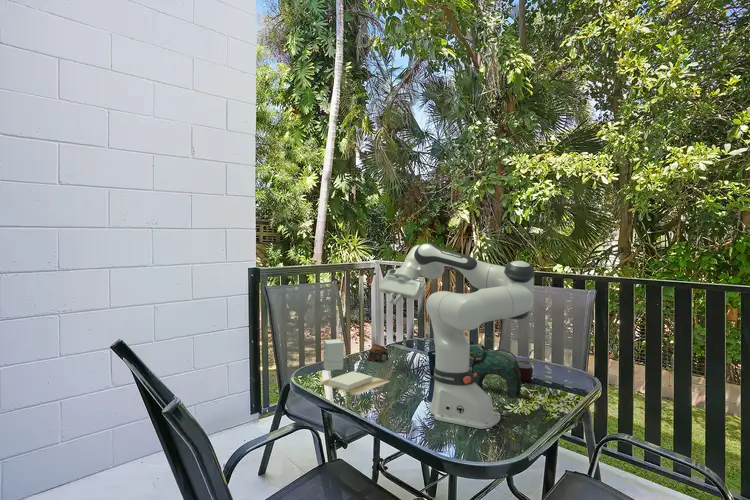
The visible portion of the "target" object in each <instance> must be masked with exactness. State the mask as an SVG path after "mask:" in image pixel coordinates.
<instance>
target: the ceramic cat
mask: <svg viewBox="0 0 750 500" xmlns="http://www.w3.org/2000/svg"><path fill="white" fill-rule="evenodd" d="M487 340H490V341H492V343H495V341H494V340H493V339H492V338H491V337H490V338H489V337H488V338H486V339H485V340H484V344H481V343H477V344H476V343H475V342H474V341H471V342H470V344H469V346H470V361H472V364H471V365H472V366H471V372H472V373H473V374H474V373H477V374H476V375H477V376H476V375H475V376H476V377H474V382H475V383H476V384H477V385H478V386H479V387H480V388H481V389H483V387H484V384H483V383H484V379H485V377H486V376H487V375H497V376H499V377H501V378H503V379H504V380H505V382H506V385H507V389H508V393H509V394H508V395H509V397H510V398H513V399H518V398H519V397H520V393H521V388H522V382H521V374H520V369H519V365H518V363H517V361H518V360H517V356H515V354H514V353H512V352H511V351H509V350H506V349H504V348H503V349H502V348H500V349H499V348H498V349H494V350H492V349H489V348H488V347H487V346H486V341H487Z"/></svg>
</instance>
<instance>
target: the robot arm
mask: <svg viewBox="0 0 750 500" xmlns="http://www.w3.org/2000/svg"><path fill="white" fill-rule="evenodd" d="M445 266H447V267H450V268H452V269H453V268H454V269H456V270H457V271H459V272H460V273H461V274H462V275H463V276H464V278H465V279H466V280H467V281H468V282H469V283H470V285H471V286H472V287H474V288H476V289H478V290H477V291H474V292H470V293H461V292H460V293H459V292H458V293H457V292H452V291H448V290H440V291H436V292H433V293H431V294H430V295H429V297H428V298H427V299H426V303H425V310H426V313H427V314H428V316H429V318H430V323H431V327H432V332H433V337H434V345H435V354H434V356H435V359H434V360H435V362H434V363H435V366H434V367H433V382H434V383H433V384H434V386H433V394H432V400H431V404H430V406H429V412H430V413H431V414H432V415H433V416H434V417H433V418H434V419H435V420H437V421H440V422H444V423H445V422H446V423H450V424H454V425H459V426H465V427H470V428H475V429H480V430H484V429H490V428H492V427H494V426H495V425H497V424H498V423H499V422H500V420H501V413H500V412H498V411H495V410H494V405H493V401H492V398H491V396H490V395H489V394H488V393H487V392H486V391H485V390H483V388H480V387H479V386H478V385H477V384H476V383H475V382H474V377H476V376H477V375H476V374H477V373H474V374H473V373H472V369H470V363H471V362H470V361H471V359H470V344H469V341H468V340H467V338H466V336H465V332H464V331H472V330H476V329H478V328H479V327H480V326H481V325H482V324H484V323H489V322H492V321H493V322H494V321H498V320H504V319H511V320H517V321H518V320H523V319H525V318H527V317H528V315H529V314H530V311H531V310H532V309H533V306H534V300H535V299H534V296H533V295H534V294H533V293H534V285H535V284H534V282H535V280H534V277H535V269H534V266H533V265H532V264H531V263H529V262H526V261H524V260H513V261H509V262H508V263H507V264H506V265H505V266H504V265H498V264H493V263H489V262H485V261H481V260H478V259H476V258H474V257H471V255H470V256H469V255H466V254H464V253H461V252H460V253H459V252H456V251H452V250H449V249H446V248H443V247H440V246H438V245H436V244H434V243H432V242H424V243H421V244H417V245H414V246H413V247H412V248H411V249H410V251H409V252H408V254H407V255H406V257H405V258H404V262H403V264H402V265H401V266H400V267H398V268H393V269H389V270H387V273H386V275H385V276H384V277H383V278H382V280H381V281H380V283H379V285H378V289H379V291H380V292H381V293H384V294H387V295H390V299H389V304H390V305H396V306H397V304H398V302H400V301H401V300H403V298H404V299H410V300H415V301H418V300H419V299H421V298H420V297H421V295H422V293H423V290H424V288H425V285H426V282H425V280H424V279H418V278H419V276H422V277H423V278H426V279H428V280H432V281H433V280H434V281H435V280H437V279H439V278H441V277H442V276H443V275H444V273H445ZM475 375H476V376H475Z"/></svg>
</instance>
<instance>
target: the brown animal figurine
mask: <svg viewBox="0 0 750 500" xmlns="http://www.w3.org/2000/svg"><path fill="white" fill-rule="evenodd" d="M388 352H389V349H388V348H386V347H384V346H383V345H380V344H378V343H377V344H376V343H375V344H374V345H373V346H372V347H371V348H370V349H369V352H368V355H367V360H368V361H371V362H376V360H377V361H382V358H383V356H385V359H386V360H387V359H388V358H389V353H388Z"/></svg>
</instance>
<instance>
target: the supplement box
mask: <svg viewBox="0 0 750 500" xmlns="http://www.w3.org/2000/svg"><path fill="white" fill-rule="evenodd" d="M323 369H324V371H327V372H328V371H339V370H344V342H343V341H342V340H341V339H340V338H337V339H335V338H334V339H324V340H323Z"/></svg>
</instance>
